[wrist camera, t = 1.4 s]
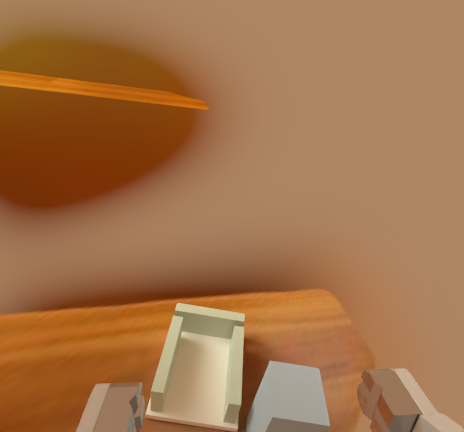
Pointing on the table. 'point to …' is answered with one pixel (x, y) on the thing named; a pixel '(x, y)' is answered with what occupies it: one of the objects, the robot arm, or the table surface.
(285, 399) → the block
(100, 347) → the table surface
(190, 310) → the cradle
